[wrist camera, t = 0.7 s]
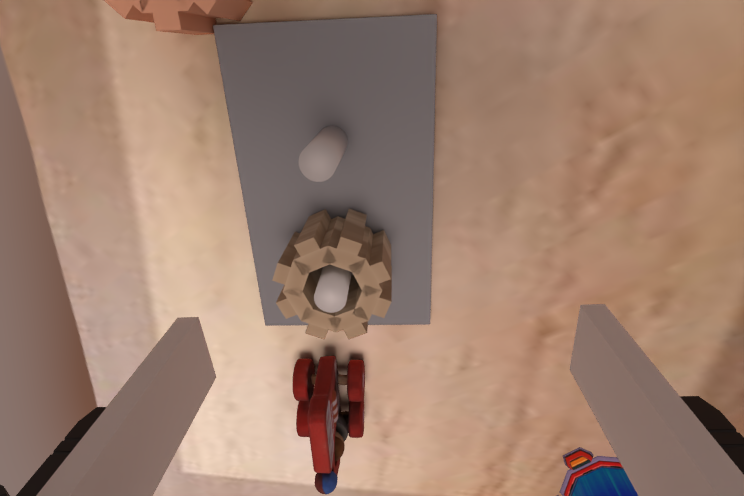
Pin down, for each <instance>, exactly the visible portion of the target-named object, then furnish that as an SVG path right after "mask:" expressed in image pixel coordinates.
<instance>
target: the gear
mask: <svg viewBox="0 0 744 496" xmlns="http://www.w3.org/2000/svg"><path fill="white" fill-rule="evenodd" d="M366 217H367V215H366V214H363V213H360V212H357V211H355V210H352V209H349V210H348V212H347V215H346V218H345V219H344V218H341V217H338V216H337V217H335V218H333V219H331V218H330V216H329V214H328V212H327V210H326V209H325V210H322V211H320V212H318V213H315V214H313V215H311V216H309V217H308V219H307V221H306V223H305V225H304V227H303V229H302V231H301V233H297V232H294V234H293V236H292V238H291V240H290V241H289V243H288V245H287V247H286V249H285V250H284V252H283V254H282V256H281V258H280V259H279V261H278V263H277V267H276V270H275V273H274V276H273V280H272V281H275V282H278V283H281V284H284V286H283V289H282V291H281V293H280V295H279V297H278V299H277V301H276V304H277V305H278V307H279V309H280V310H281V312H282V313H283V315H284V316H285V318H286V319H287V318H290V317H292V316H295V315H298V317H299V319H300V320H301V321H303V322H306V323H308V327H307V330H306V334H309V335H312V336H315V337H318V338H321V339H325V337H326V334H327V332H328V330H330V331H333V332H339V331H341V330H344V332H345V334H346V335H347V337H348V339H351V338H354V337H357V336H360V335H363V334H365V333H367V327H368V321H369V320H370V317H371V315H372V314H373V315H376V316H379V317H382V318H384V317H385V315H386V313H387V311H388V308H389V306H390V304H391V302H392V266H391V244H390V242H389V240H388V238H387V236H386V233H385V231H384V230H382V231H380V232H377V233H375V234H373V233H372V231H371V229H370V228H369V227H366V226H365V223H366ZM329 264H330V265H333V266H336V267H339V268H342V269H345V270H347V271H350V272H352V273H353V275H352V276H351V280H350V285H349V290H348V296H347V301H346V304H345V306H344V308H343V309H341V310H340V311H338V312H334V313H329V312H325V311H323V310H321V309H319V308H318V307H317V305H316V304H315V301H314V294H315V291H316V288H317V285H318V282H319V279H320V276H321V273H322V270H323V269H322V267H324V266H327V265H329Z"/></svg>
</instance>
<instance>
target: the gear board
mask: <svg viewBox="0 0 744 496" xmlns="http://www.w3.org/2000/svg"><path fill="white" fill-rule="evenodd" d="M213 29H214V34H215V40H216V46H217V51H218V57H219V63H220V69H221V74H222V80H223V86H224V91H225V97H226V103H227V109H228V114H229V120H230V126H231V131H232V137H233V143H234V149H235V154H236V160H237V166H238V171H239V177H240V183H241V189H242V194H243V200H244V206H245V211H246V217H247V223H248V229H249V234H250V240H251V246H252V251H253V257H254V263H255V269H256V274H257V280H258V286H259V292H260V297H261V303H262V309H263V314H264V320H265V325H308V323H306V322H303V321H301V320H300V319H299V317H298V315H295V316H292V317H290V318H287V319H286V318H285V316H284V315H283V313H282V312H281V310H280V309H279V307H278V305H277V304H276V301H277V299H278V297H279V295H280V293H281V291H282V289H283V286H284V284H281V283H278V282H275V281H272V280H273V276H274V273H275V270H276V267H277V263H278V261H279V259H280V258H281V256H282V254H283V252H284V250H285V249H286V247H287V245H288V243H289V241H290V240H291V238H292V236H293V234H294V232H297V233H301V231H302V229H303V227H304V225H305V223H306V221H307V219H308V217H309V216H311V215H313V214H315V213H318V212H320V211H322V210H325V209H326V210H327V212H328V214H329V216H330V218H331V219H333V218H335V217H337V216H338V217H341V218H344V219H345V218H346V215H347V212H348V210H349V209H352V210H355V211H357V212H360V213H363V214H366V215H367V217H366V223H365V226H366V227H369V228H370V229H371V231H372V233H373V234H375V233H377V232H380V231H382V230H384V231H385V233H386V236H387V238H388V240H389V242H390V244H391V266H392V302H391V304H390V306H389V308H388V311H387V313H386V315H385V317H384V318H382V317H379V316H376V315H373V314H372V315H371V317H370V320H369V321H368V325H414V324H430V310H431V263H432V217H433V170H434V124H435V78H436V31H437V14H431V15H410V16H390V17H369V18H349V19H329V20H308V21H288V22H267V23H247V24H226V25H213ZM322 269H323V270H322V273H321V276H320V279H319V282H318V285H317V288H316V291H315V294H314V301H315V304H316V305H317V307H318V308H319V309H321V310H323V311H325V312H329V313H334V312H338V311H340V310H341V309H343V308H344V306H345V304H346V301H347V296H348V290H349V285H350V280H351V276H352V275H353V273H352V272H350V271H347V270H345V269H342V268H339V267H336V266H333V265H330V264H329V265H327V266H324V267H322Z"/></svg>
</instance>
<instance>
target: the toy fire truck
mask: <svg viewBox="0 0 744 496" xmlns="http://www.w3.org/2000/svg"><path fill="white" fill-rule="evenodd" d="M338 384H339V385H347V393H348V399H349V411H348V412H347V411H343V412H341V407H340V401H339V389H338ZM314 385H315V386H314ZM364 389H365V368H364V361H363V360H350V361H349V363H348V369H347V375H341V374H339V375H338V370H337V364H336V357H335V356H323V357H321V358H320V359H319V365H318V370H317V375H316V374H315V369H314V362H313V360H312V359H298V360H297V362H296V364H295V367H294V373H293V394H294V397H295V399H296V400H297V401H299V404H298V410H297V421H296V426H297V433H298V435H299V436H300V437H310V444H311V451H312V458H313V467H314V471H315V472H316V473H317V474H316V476H315V487H316V489H317V490H318V491H319V492H320V493H322V494H329V493H331V492H332V491H333V490H334V489H335V488H336V485H337V474H338V469H339V465H340V457H341V456H342V454H343V452H344V441H345V440H346V438H347V436H348V433H349V436H350V437H352V438H360V437H362V436H363V432H364ZM312 395H313V396H312Z"/></svg>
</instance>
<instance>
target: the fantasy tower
mask: <svg viewBox="0 0 744 496" xmlns="http://www.w3.org/2000/svg"><path fill="white" fill-rule="evenodd" d="M563 458H564V462H565V465H566V466H567V467H568V468H570V470H568V471H567V473H566V476H565V479H564V482H563V484H562V487H561V490H560V493H561V494H562V495H563V496H638V494H637V492H636V491H635V489H634V487H633V485H632V483H631V481H630V480H629V478H628V476H627V474H626V472H625V470H624V468H623V467H622V465H621V463H620V461H619V459H618V458H617V457H604V456H597V457H595V458H593V454H592V453H591V452H589V451H587V450H585V449H583V448H580V447H579V448H577V449H575V450H573V451H571V452H569V453H567V454H565V455H563ZM592 458H593V459H592ZM557 496H558V495H557Z"/></svg>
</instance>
